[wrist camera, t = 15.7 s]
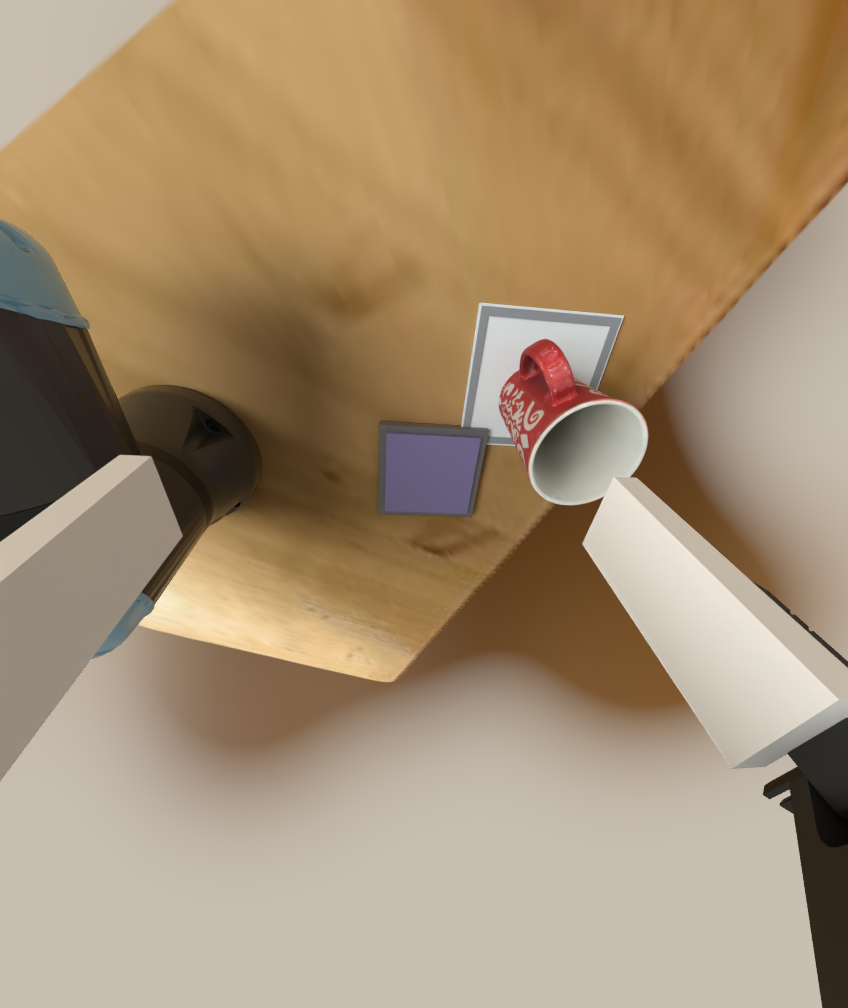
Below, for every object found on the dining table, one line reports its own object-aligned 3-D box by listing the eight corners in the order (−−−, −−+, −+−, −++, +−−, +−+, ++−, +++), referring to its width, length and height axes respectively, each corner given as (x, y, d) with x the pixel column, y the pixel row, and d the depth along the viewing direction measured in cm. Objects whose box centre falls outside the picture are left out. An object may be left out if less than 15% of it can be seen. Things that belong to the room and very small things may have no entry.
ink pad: (378, 509, 45) (378, 516, 44) (379, 420, 38) (379, 425, 37) (470, 512, 46) (472, 518, 45) (487, 427, 39) (489, 432, 38)
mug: (581, 417, 39) (653, 480, 28) (504, 450, 41) (543, 521, 30) (558, 299, 32) (641, 321, 21) (467, 344, 34) (499, 386, 23)
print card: (458, 441, 40) (458, 443, 40) (479, 302, 32) (480, 302, 32) (574, 447, 41) (575, 449, 41) (622, 315, 33) (624, 315, 33)
